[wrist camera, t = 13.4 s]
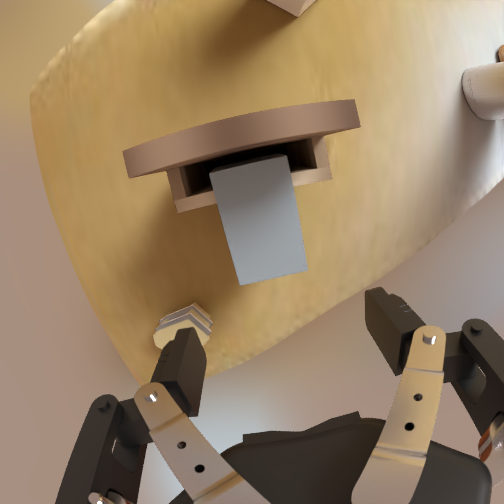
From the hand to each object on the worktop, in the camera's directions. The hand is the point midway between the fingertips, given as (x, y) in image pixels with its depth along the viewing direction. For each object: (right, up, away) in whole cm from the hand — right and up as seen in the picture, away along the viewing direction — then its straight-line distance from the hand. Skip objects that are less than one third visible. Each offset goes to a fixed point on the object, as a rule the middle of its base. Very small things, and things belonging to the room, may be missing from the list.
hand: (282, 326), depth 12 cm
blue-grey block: (-1, +9, +17) cm, 19 cm away
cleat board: (-2, +14, +20) cm, 24 cm away
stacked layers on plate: (-11, -6, +27) cm, 30 cm away
